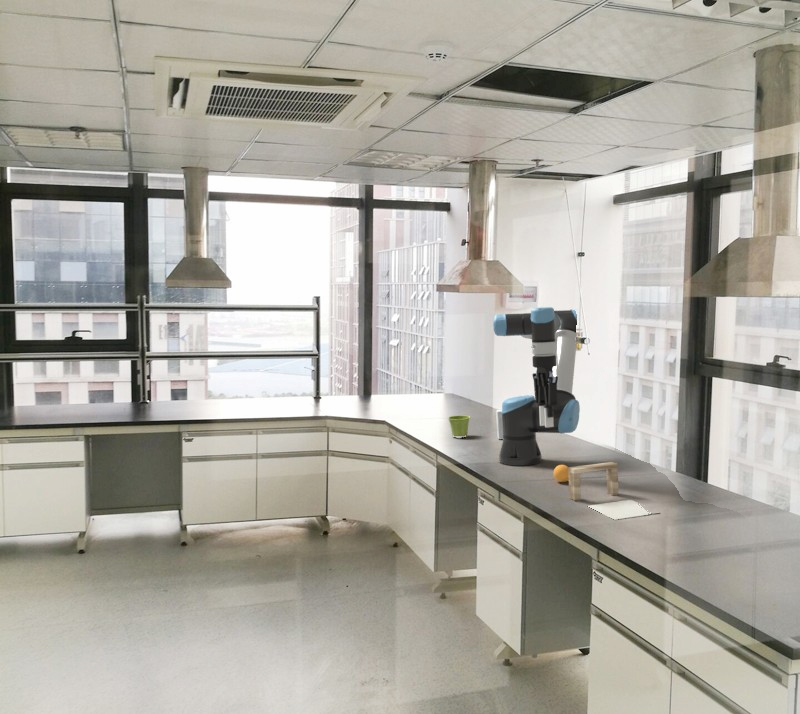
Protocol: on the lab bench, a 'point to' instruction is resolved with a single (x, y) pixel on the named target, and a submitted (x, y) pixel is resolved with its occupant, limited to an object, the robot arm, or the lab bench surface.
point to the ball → (561, 473)
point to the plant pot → (459, 425)
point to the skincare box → (499, 424)
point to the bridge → (575, 471)
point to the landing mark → (620, 509)
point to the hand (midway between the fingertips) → (546, 426)
